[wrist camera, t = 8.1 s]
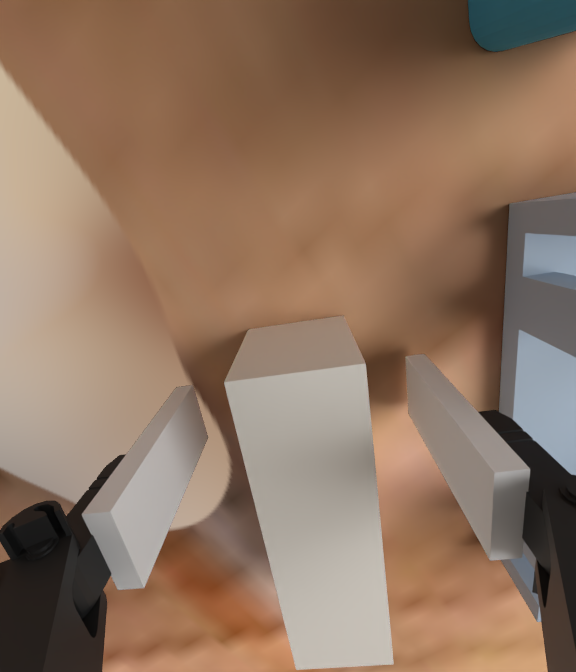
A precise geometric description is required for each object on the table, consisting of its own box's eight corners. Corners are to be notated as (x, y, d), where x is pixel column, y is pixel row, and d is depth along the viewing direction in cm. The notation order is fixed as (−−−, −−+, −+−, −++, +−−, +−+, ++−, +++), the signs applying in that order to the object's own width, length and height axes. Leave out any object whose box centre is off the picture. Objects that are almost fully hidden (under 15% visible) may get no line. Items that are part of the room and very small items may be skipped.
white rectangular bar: (369, 548, 18) (393, 664, 13) (296, 554, 18) (296, 669, 14) (342, 313, 14) (365, 363, 9) (249, 327, 14) (223, 382, 9)
